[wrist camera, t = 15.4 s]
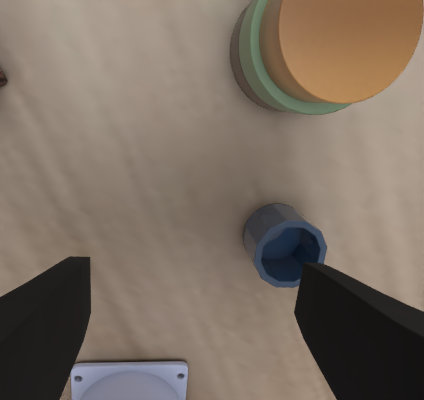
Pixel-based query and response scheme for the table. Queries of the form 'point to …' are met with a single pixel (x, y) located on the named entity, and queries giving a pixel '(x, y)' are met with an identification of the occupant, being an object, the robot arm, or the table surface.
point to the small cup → (282, 244)
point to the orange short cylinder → (338, 46)
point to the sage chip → (259, 75)
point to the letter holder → (2, 79)
